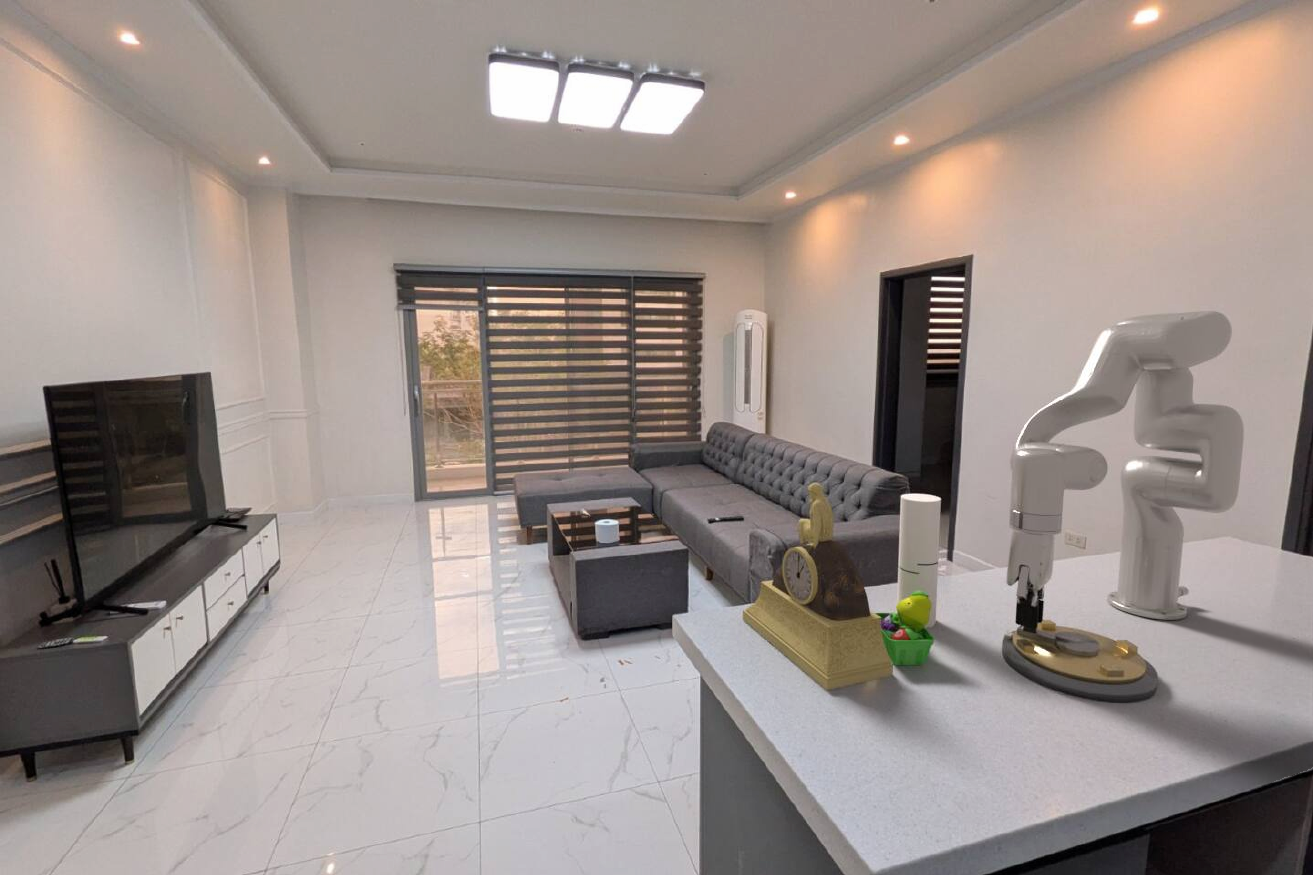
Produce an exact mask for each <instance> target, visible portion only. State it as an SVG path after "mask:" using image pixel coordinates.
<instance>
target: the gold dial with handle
mask: <svg viewBox="0 0 1313 875" xmlns="http://www.w3.org/2000/svg"><path fill="white" fill-rule="evenodd" d="M1030 594H1031V593H1030ZM1031 596H1032V594H1031ZM1038 601H1039V596H1037V605H1036V606H1038ZM1014 631H1015V632H1014V634H1013V647H1014V649H1015V650H1016V652H1017V653H1018V654H1019V655H1021V656H1022V657H1023V658H1025V659H1026V660H1028V661H1029V662H1031V663H1033V664H1035V665H1037V666H1039V667H1041V668H1043V669H1046V670H1048V671H1051V672H1053V673H1056V674H1059V675H1062V676H1066V677H1069V678H1073V679H1077V680H1082V681H1087V682H1093V683H1100V684H1129V683H1134V682H1137V681H1140V680H1141V679H1143V677H1144V676H1145V673H1146V662H1145V661H1144V659H1145V658H1143V656H1141V655H1140V654H1139V653H1138V650H1139V646H1138V645H1136V644H1135V643H1133V642H1131V641H1129V640H1128V639H1117V640H1114V639H1113V638H1109V637H1107V636H1104V635H1101V634H1098V633H1095V632H1091V631H1087V630H1082V629H1078V628H1074V627H1069V626H1068V627H1067V626H1061V625H1057V624H1056V623H1055V622H1054V621H1052V619H1043V621H1042V622H1041V623H1038V626H1037V628H1036V629H1033V628H1029V627H1025V626H1021V625H1019V626H1018V627H1017V628H1016V630H1014Z"/></svg>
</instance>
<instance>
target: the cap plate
mask: <svg viewBox="0 0 1313 875" xmlns="http://www.w3.org/2000/svg"><path fill="white" fill-rule="evenodd" d="M1015 631H1016V630H1014V631H1006V632H1005V634H1004V635H1003V639H1002V643H1001V644H1002V645H1001V655H1002V658H1003V660H1004V662H1005V663H1006V664H1007V665H1008V666H1009V667H1010V668H1011V669H1013V671H1015V672H1017V674H1019V675H1020V676H1022V677H1024V678H1025V679H1028V680H1029V681H1031V682H1032V683H1035V684H1038V685H1040V686H1042V687H1045V688H1046V689H1049V690H1053V691H1055V692H1058V693H1060V694H1065V695H1068V696H1071V697H1075V698H1080V699H1084V700H1090V701H1096V702H1102V703H1111V704H1112V703H1113V704H1114V703H1115V704H1130V703H1131V704H1134V703H1139V702H1144V701H1146V700H1149V699H1151V698H1152V697H1154V695H1156V693H1157V690H1158V680H1159V676H1158V672H1157V670H1156V668H1155V667H1154V666H1153V665H1152V663H1150V662H1149V661H1148V660H1146V659H1145V658H1143V659H1144V661H1145V662H1146V673H1145V676H1144V677H1143V679H1141V680H1140V681H1137V682H1134V683H1129V684H1100V683H1093V682H1087V681H1082V680H1077V679H1073V678H1069V677H1066V676H1062V675H1059V674H1056V673H1053V672H1051V671H1048V670H1046V669H1043V668H1041V667H1039V666H1037V665H1035V664H1033V663H1031V662H1029V661H1028V660H1026V659H1025V658H1023V657H1022V656H1021V655H1019V654H1018V653H1017V652H1016V650H1015V649H1014V647H1013V634H1014V632H1015Z"/></svg>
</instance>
